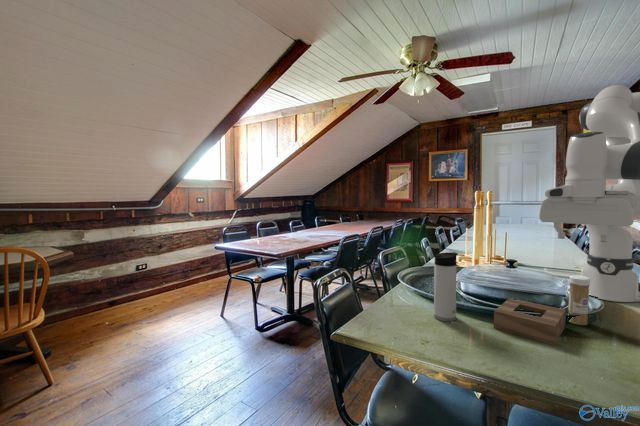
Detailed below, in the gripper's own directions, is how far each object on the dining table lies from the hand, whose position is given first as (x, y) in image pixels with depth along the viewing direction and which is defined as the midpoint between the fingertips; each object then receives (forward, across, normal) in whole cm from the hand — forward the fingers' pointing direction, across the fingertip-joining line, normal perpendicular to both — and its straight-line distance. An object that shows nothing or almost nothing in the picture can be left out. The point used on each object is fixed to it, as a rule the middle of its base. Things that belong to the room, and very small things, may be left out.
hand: (582, 240), depth 90 cm
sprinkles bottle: (+24, 0, -1) cm, 24 cm away
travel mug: (+25, +29, +21) cm, 44 cm away
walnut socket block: (+24, +9, +12) cm, 29 cm away
